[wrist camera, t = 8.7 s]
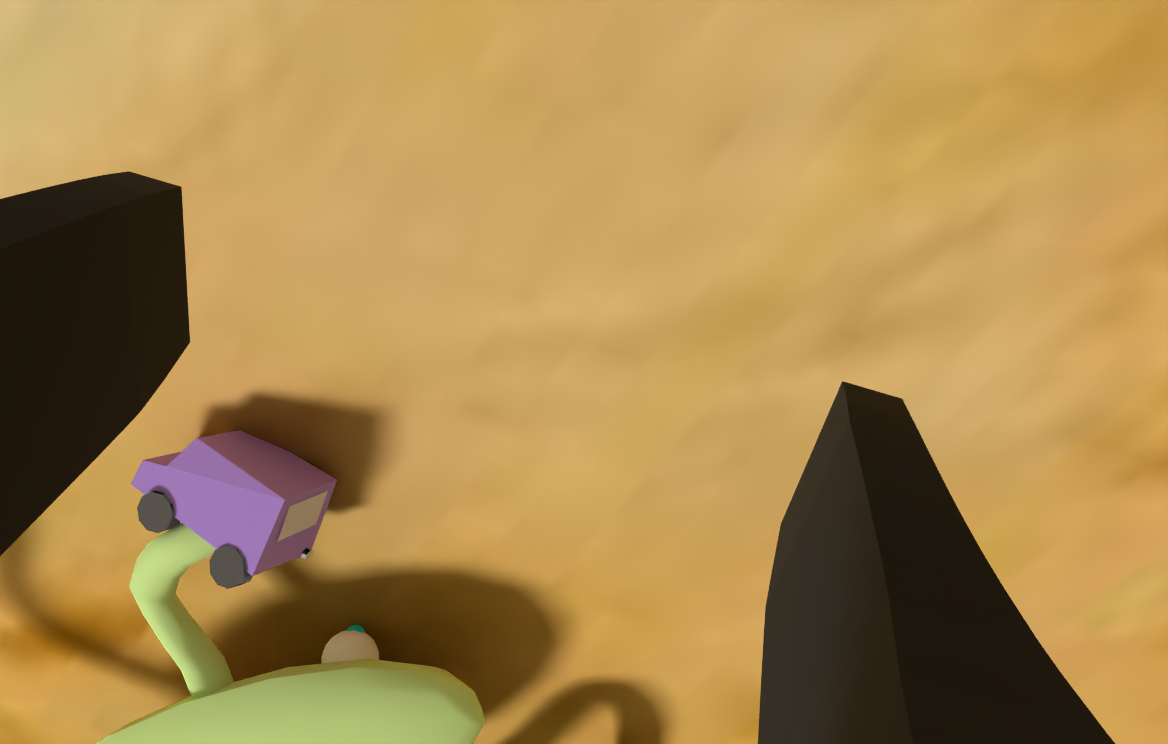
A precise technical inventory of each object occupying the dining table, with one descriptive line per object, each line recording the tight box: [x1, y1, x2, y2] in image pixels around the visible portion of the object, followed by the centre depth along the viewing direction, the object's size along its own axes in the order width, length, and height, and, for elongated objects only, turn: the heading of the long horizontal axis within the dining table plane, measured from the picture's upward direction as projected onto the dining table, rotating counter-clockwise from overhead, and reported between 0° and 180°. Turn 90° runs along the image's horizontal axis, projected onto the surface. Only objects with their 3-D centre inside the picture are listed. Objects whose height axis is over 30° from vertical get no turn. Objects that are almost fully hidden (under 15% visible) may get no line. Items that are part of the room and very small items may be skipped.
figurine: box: [96, 430, 485, 744], centre depth 30 cm, size 18×27×6 cm
